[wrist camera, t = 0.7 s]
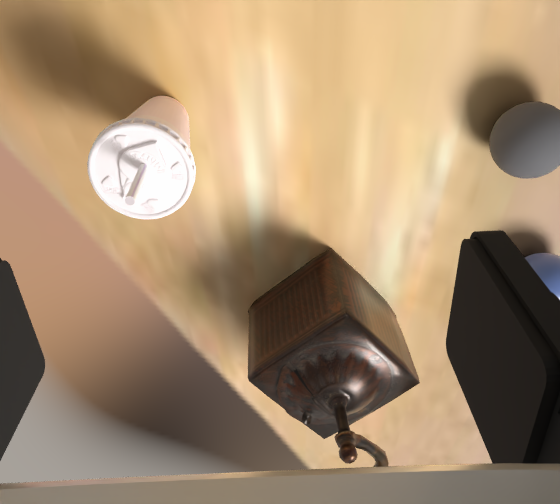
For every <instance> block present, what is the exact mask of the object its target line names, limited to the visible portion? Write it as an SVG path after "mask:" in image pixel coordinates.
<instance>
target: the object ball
mask: <svg viewBox="0 0 560 504" xmlns="http://www.w3.org/2000/svg"><path fill="white" fill-rule="evenodd" d="M525 259H526V260H527V261H528V263H529V264H530V265H531V267H532V268H533V269H534V271H535V272H536V273H537V274H538V276H539V277H540V278H541V280H542V281H543V282H544V284H545V285H546V286H547V287H548V289H549V290H550V291H551V292H553V293H554V294H555V295H556V296H557V297H558V298H559V300H560V256H558V255H555V254H551V253H535V254H532V255H529V256H527V257H525Z"/></svg>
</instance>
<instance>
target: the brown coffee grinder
mask: <svg viewBox="0 0 560 504" xmlns="http://www.w3.org/2000/svg"><path fill="white" fill-rule="evenodd" d="M248 313H249V345H248V379H249V381H250V382H251V383H252V384H254V385H255V386H256V387H257V388H258V389H260V390H261V391H262V392H263V393H264V394H266V395H267V396H268V397H270V398H271V399H272V400H273V401H275V402H276V403H277V404H279V405H280V406H281V407H283V408H284V409H285V410H286V412H287V413H288V414H289V415H291V416H292V417H294V418H295V419H297V420H299V421H301V422H302V423H304V424H305V425H306V426H308V427H309V428H310V429H312V430H313V431H314V432H316V433H317V434H318V435H320V436H321V437H322V438H324V439H325V438H327V437H329V436H331V435H333V434H335V433H337V432H338V434H336V436H335V441H336V443H337V445H338V447H339V448H340V450H339V456H340V458H341V459H342V460H343V461H344V462H345V463H352V462H354V461H355V460H356V459H357V452H356V448H359V449H362V450H364V451H366V452H367V453H368V454H370V455H371V456H372V457H373V458H374V459H375V461H376V463H375V465H374V467H388V460H387V456H386V453H385V452H384V451H383V450H382V449H381V448H380V447H378V446H377V445H375V444H374V443H372V442H371V441H369V440H367V439H366V438H364V437H363V436H361V435H358V434H355V433H354V432H352V431H350V428H349V425H351V424H352V423H354V422H356V421H358V420H359V419H361V418H363V417H365V416H366V415H368V414H370V413H372V412H373V411H375V410H377V409H378V408H380V407H382V406H384V405H385V404H387V403H389V402H390V401H392V400H394V399H395V398H397V397H398V396H400V395H401V394H403V393H405V392H406V391H408V390H409V389H411V388H412V387H414V386H416V385H417V384H419V383H420V382H419V378H418V375H417V372H416V369H415V367H414V364H413V361H412V358H411V355H410V353H409V350H408V347H407V344H406V342H405V339H404V336H403V334H402V331H401V329H400V326H399V324H398V322H397V319H396V315H395V313H394V312H393V311H392V309H391V308H390V306H389V305H388V303H387V302H386V301H385V300H384V299H383V298H382V296H381V295H380V294H379V293H378V292H377V291H376V290H375V289H374V288H373V287H372V286H371V285H370V284H369V283H368V282H367V281H366V280H365V279H364V278H363V277H362V276H361V275H360V274H359V273H358V272H357V271H356V270H354V269H353V268H352V267H351V266H350V265H349V264H348V263H347V262H346V261H345V260H344V259H342V258H341V257H340V256H339V255H338V254H337V253H336V252H335V251H334V250H333V249H332V248H331V249H329V250H327V251H326V252H324V253H322V254H321V255H319V256H317V257H316V258H314V259H313V260H311V261H310V262H308V263H307V264H306V265H304V266H303V267H301V268H300V269H299V270H297V271H296V272H294V273H293V274H292V275H290V276H289V277H288V278H286V279H285V280H283V281H282V282H281V283H279V284H278V285H277V286H275V287H274V288H272V289H271V290H270V291H268V292H267V293H266V294H264V295H263V296H262V297H260V298H259V299H258V300H256V301H255V302H254V303H253V304H252V306H251V307H250V309H249V310H248ZM355 447H356V448H355Z"/></svg>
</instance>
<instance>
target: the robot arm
mask: <svg viewBox="0 0 560 504" xmlns="http://www.w3.org/2000/svg"><path fill="white" fill-rule="evenodd" d="M446 349H447V354H448V357H449V360H450V362H451V364H452V367H453V369H454V372H455V374H456V376H457V379H458V381H459V384H460V386H461V388H462V391H463V393H464V396H465V398H466V400H467V403H468V405H469V408H470V410H471V412H472V415H473V417H474V420H475V422H476V424H477V427H478V429H479V431H480V434H481V436H482V439H483V441H484V443H485V446H486V448H487V451H488V453H489V455H490V458H491V460H492V463H493V464H454V465H414V466H388V467H362V468H336V469H311V470H289V471H288V470H286V471H261V472H239V473H215V474H193V475H171V476H170V475H169V476H149V477H148V476H147V477H128V478H127V477H125V478H104V479H83V480H63V481H46V482H45V481H44V482H24V483H3V484H0V504H560V300H559V298H558V297H557V296H556V295H555V294H554V293H553V292H551V291H550V290H549V289H548V287H547V286H546V285H545V284H544V282H543V281H542V280H541V278H540V277H539V276H538V274H537V273H536V272H535V271H534V269H533V268H532V267H531V265H530V264H529V263H528V261H527V260H526V259H525V258H524V256H523V255H522V254H521V252H520V251H519V250H518V248H517V247H516V246H515V245H514V243H513V242H512V241H511V239H510V238H509V237H508V235H507V234H506V233H505V232H504V231H479V232H473V233H472V235H471V237H470V239H464V240H463V241H462V244H461V249H460V255H459V262H458V268H457V274H456V281H455V287H454V293H453V299H452V306H451V312H450V318H449V325H448V331H447V337H446ZM44 369H45V359H44V356H43V353H42V350H41V348H40V345H39V342H38V339H37V337H36V334H35V331H34V329H33V326H32V323H31V320H30V318H29V315H28V312H27V309H26V307H25V304H24V301H23V298H22V296H21V293H20V290H19V288H18V285H17V282H16V279H15V277H14V274H13V271H12V269H11V266H10V264H9V263H8V262H7V261H2V260H1V258H0V460H1V458H2V456H3V454H4V452H5V450H6V448H7V446H8V444H9V442H10V440H11V438H12V436H13V434H14V432H15V430H16V428H17V426H18V424H19V422H20V420H21V418H22V416H23V414H24V412H25V410H26V408H27V406H28V404H29V402H30V400H31V398H32V396H33V394H34V392H35V390H36V388H37V386H38V384H39V382H40V380H41V378H42V376H43V374H44Z"/></svg>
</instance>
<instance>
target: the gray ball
mask: <svg viewBox="0 0 560 504" xmlns="http://www.w3.org/2000/svg"><path fill="white" fill-rule="evenodd" d="M489 146H490V152H491V155H492V158H493V160H494V161H495V163H496V164H497V166H498V167H499V168H500V169H502V170H503V171H504V172H506V173H507V174H509V175H512V176H514V177H518V178H537V177H541V176H543V175H546V174H548V173H550V172H552V171H553V170H555V169H556V168H557V167H558V166H559V165H560V110H559V109H557V108H556V107H554V106H552V105H550V104H547V103H542V102H526V103H522V104H519V105H516V106H514V107H512V108H510V109H509V110H507V111H506V112H505V113H504V114H502V115H501V117H500V118H499V119H498V120H497V121H496V123H495V125H494V127H493V129H492V131H491V135H490V141H489Z"/></svg>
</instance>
